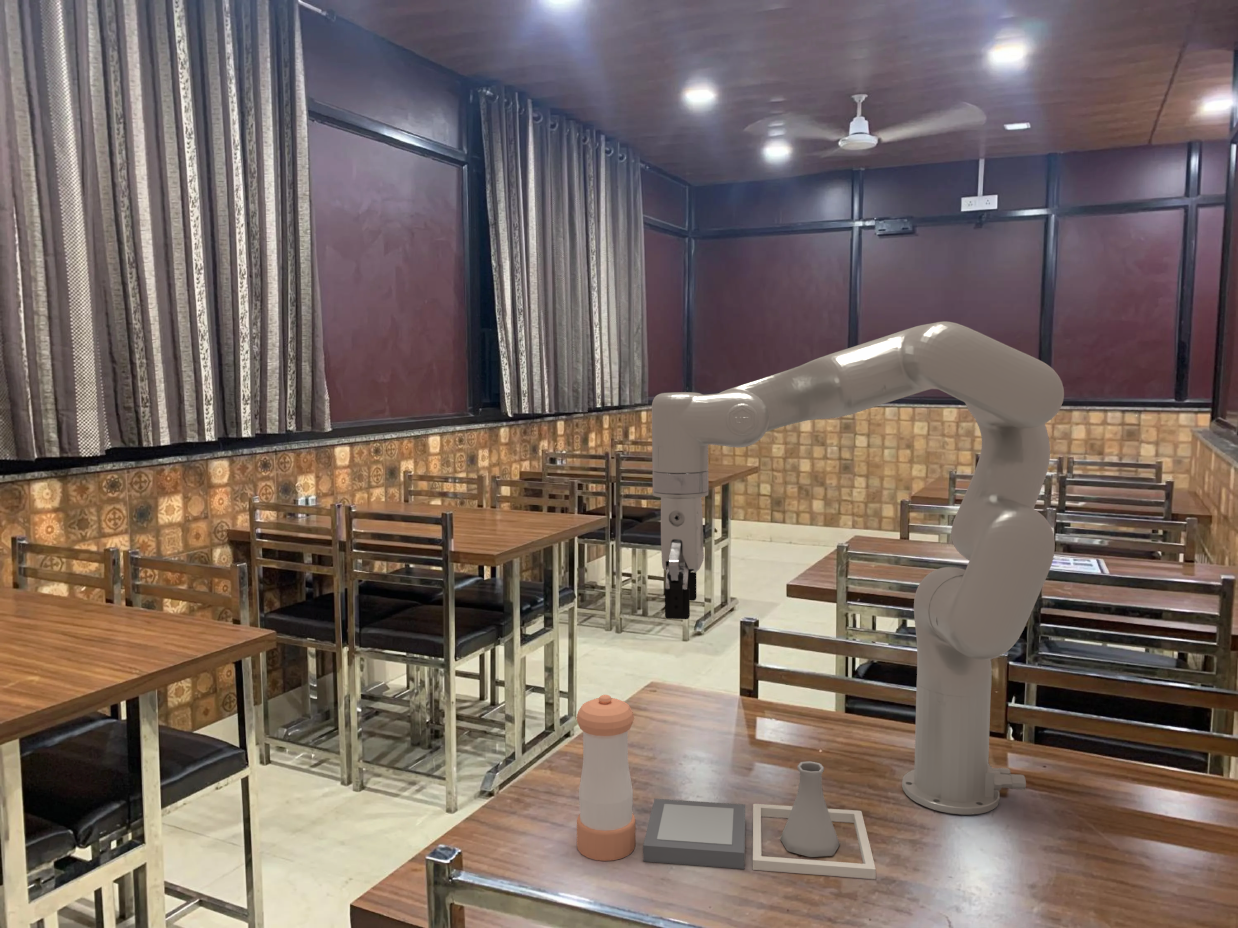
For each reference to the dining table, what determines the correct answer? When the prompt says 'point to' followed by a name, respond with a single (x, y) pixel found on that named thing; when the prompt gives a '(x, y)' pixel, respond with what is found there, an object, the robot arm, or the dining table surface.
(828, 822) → the flask
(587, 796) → the salt shaker
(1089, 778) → the dining table surface
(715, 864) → the slate pad
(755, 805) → the tray frame
